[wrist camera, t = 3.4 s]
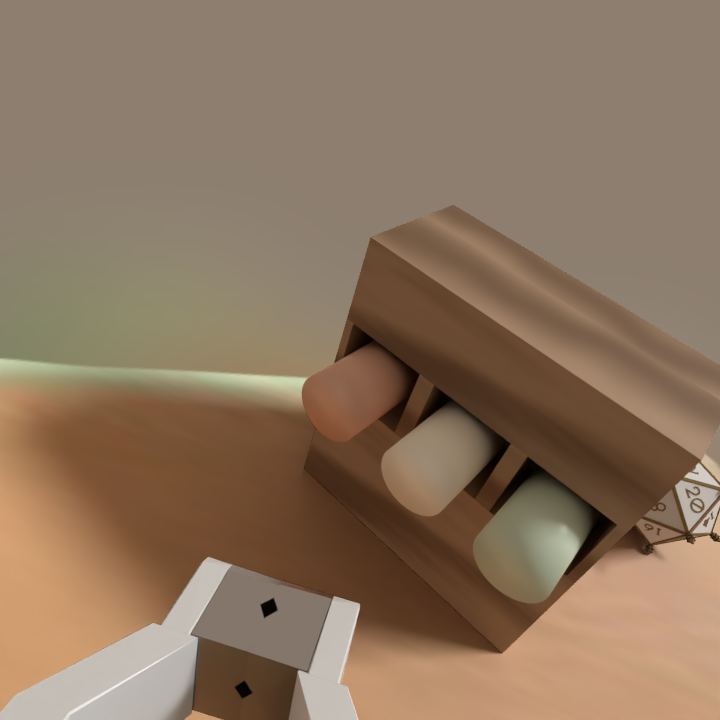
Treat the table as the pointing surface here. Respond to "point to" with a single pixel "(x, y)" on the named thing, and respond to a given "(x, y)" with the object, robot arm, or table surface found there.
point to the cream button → (439, 459)
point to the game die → (684, 511)
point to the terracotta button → (357, 391)
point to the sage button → (534, 538)
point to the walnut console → (513, 401)
